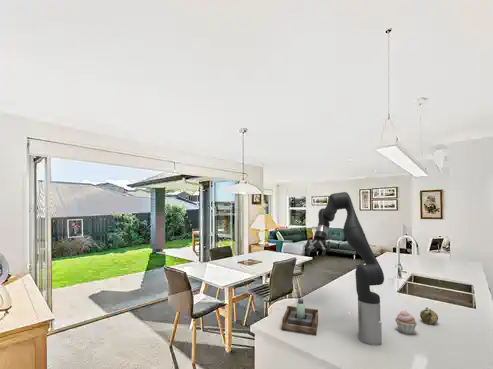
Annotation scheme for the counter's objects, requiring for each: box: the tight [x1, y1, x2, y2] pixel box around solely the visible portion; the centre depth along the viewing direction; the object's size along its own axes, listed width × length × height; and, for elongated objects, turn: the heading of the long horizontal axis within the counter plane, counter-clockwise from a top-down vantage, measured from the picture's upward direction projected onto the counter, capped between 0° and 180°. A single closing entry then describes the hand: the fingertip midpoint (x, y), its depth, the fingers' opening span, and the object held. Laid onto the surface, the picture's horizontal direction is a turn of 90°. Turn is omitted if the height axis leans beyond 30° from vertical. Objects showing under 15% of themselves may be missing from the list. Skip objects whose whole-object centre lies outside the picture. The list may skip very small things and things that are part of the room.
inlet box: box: [281, 305, 319, 336], centre depth 135 cm, size 16×16×6 cm
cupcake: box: [394, 309, 418, 335], centre depth 131 cm, size 9×9×10 cm
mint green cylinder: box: [296, 298, 306, 319], centre depth 135 cm, size 4×4×12 cm
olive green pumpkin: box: [419, 307, 439, 325], centre depth 141 cm, size 8×8×8 cm
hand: (315, 255), depth 159 cm, fingers open, 8 cm apart
